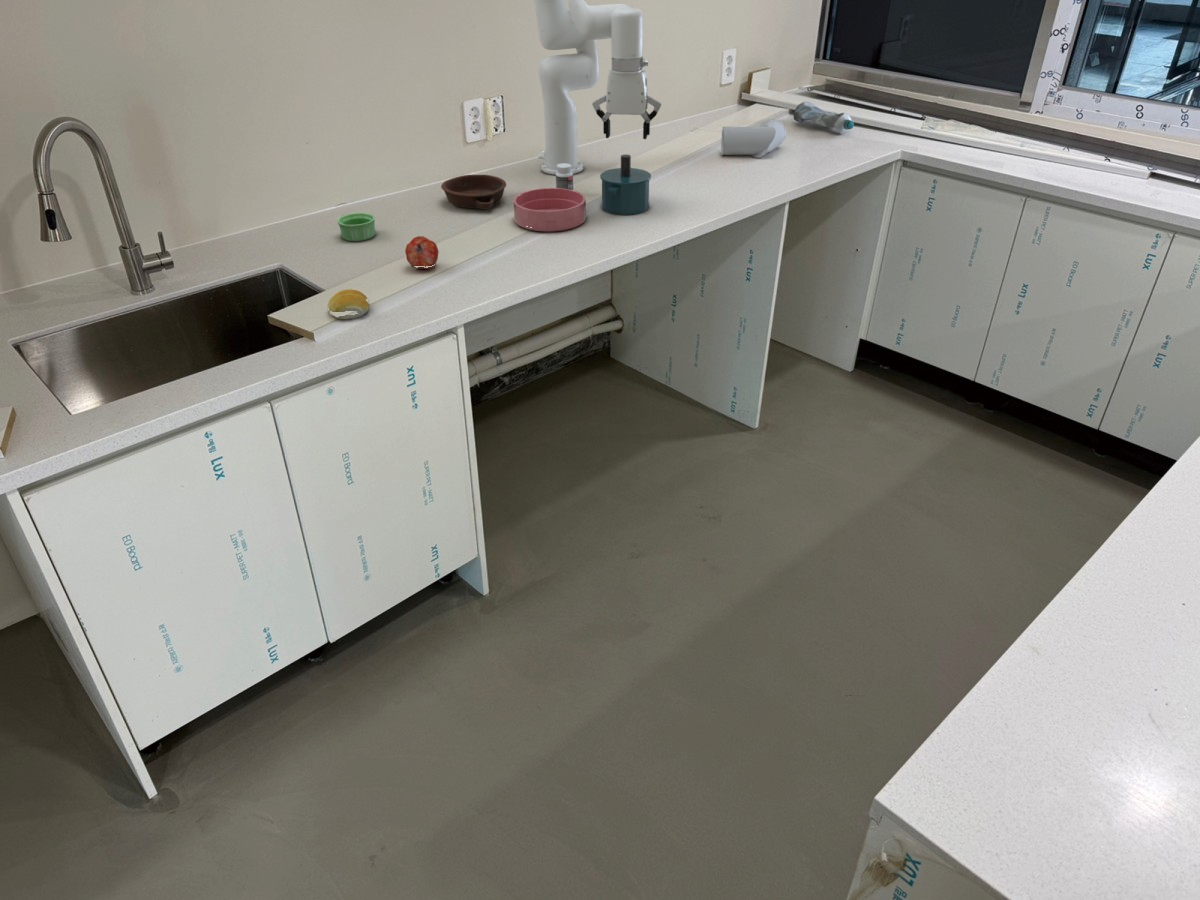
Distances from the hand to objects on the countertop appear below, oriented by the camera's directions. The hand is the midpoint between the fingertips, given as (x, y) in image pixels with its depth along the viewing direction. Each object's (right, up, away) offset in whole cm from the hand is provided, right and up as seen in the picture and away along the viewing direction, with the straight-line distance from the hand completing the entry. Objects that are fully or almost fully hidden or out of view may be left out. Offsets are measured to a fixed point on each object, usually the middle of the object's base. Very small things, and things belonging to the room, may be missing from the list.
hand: (626, 137), depth 215 cm
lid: (0, -8, +6) cm, 10 cm away
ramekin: (-67, -27, -5) cm, 72 cm away
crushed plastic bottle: (+71, +31, +75) cm, 108 cm away
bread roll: (-59, -51, -41) cm, 88 cm away
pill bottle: (-17, -9, +19) cm, 27 cm away
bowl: (-20, -20, +3) cm, 29 cm away
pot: (0, -15, +11) cm, 18 cm away
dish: (-41, -12, +15) cm, 45 cm away
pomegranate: (-47, -38, -22) cm, 65 cm away
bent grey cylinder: (+41, +14, +52) cm, 68 cm away
